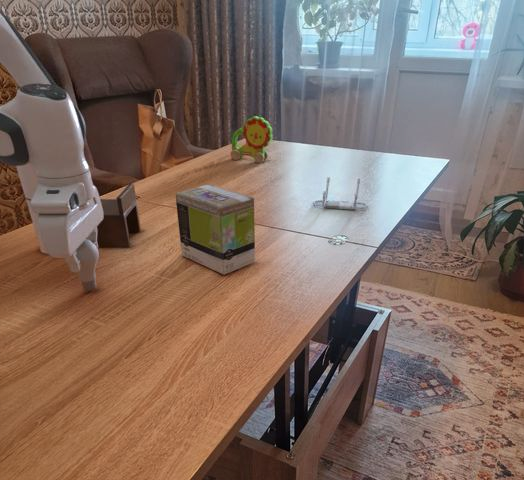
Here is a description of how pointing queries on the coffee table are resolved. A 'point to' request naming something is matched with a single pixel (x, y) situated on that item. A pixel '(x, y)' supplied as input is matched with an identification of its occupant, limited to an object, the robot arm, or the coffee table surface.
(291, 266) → the coffee table surface
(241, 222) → the tea box
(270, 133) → the toy lion
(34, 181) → the cylindrical container
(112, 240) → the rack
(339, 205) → the wall mount rack
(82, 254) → the lightbulb
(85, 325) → the coffee table surface
